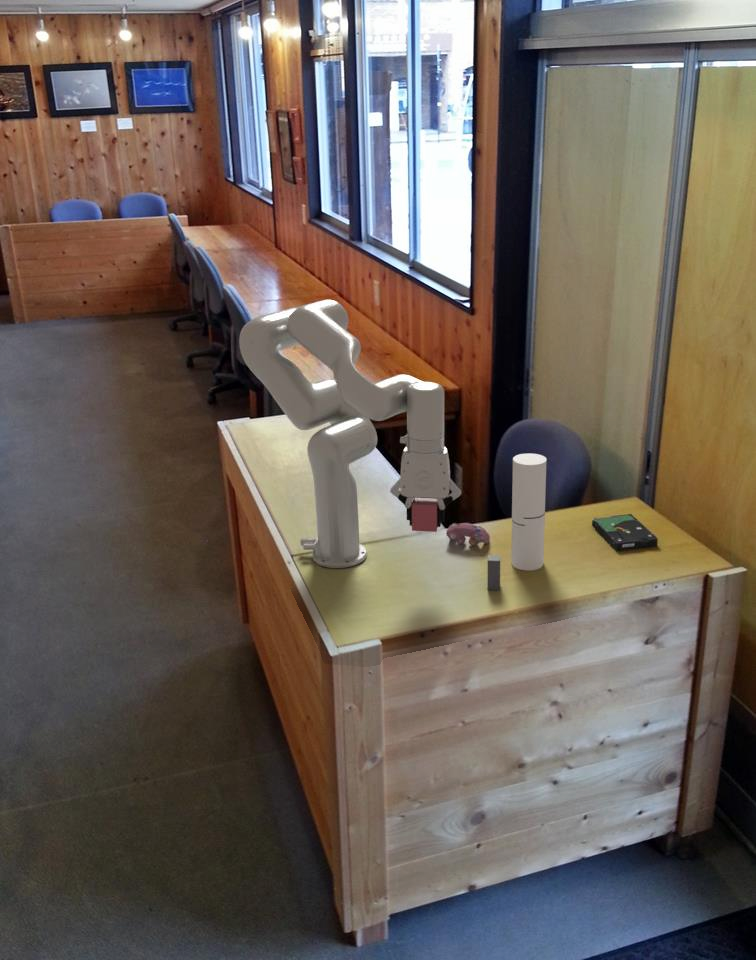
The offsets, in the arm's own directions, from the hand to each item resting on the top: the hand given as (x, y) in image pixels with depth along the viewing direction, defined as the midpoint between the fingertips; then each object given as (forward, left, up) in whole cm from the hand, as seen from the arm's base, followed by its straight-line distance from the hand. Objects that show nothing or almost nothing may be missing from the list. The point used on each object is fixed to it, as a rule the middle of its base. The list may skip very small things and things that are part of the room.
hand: (425, 522), depth 196 cm
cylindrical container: (+21, +12, -15) cm, 29 cm away
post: (+14, 0, -15) cm, 20 cm away
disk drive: (+44, +28, -15) cm, 54 cm away
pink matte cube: (0, 0, -1) cm, 1 cm away
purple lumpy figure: (+8, +21, -15) cm, 27 cm away
